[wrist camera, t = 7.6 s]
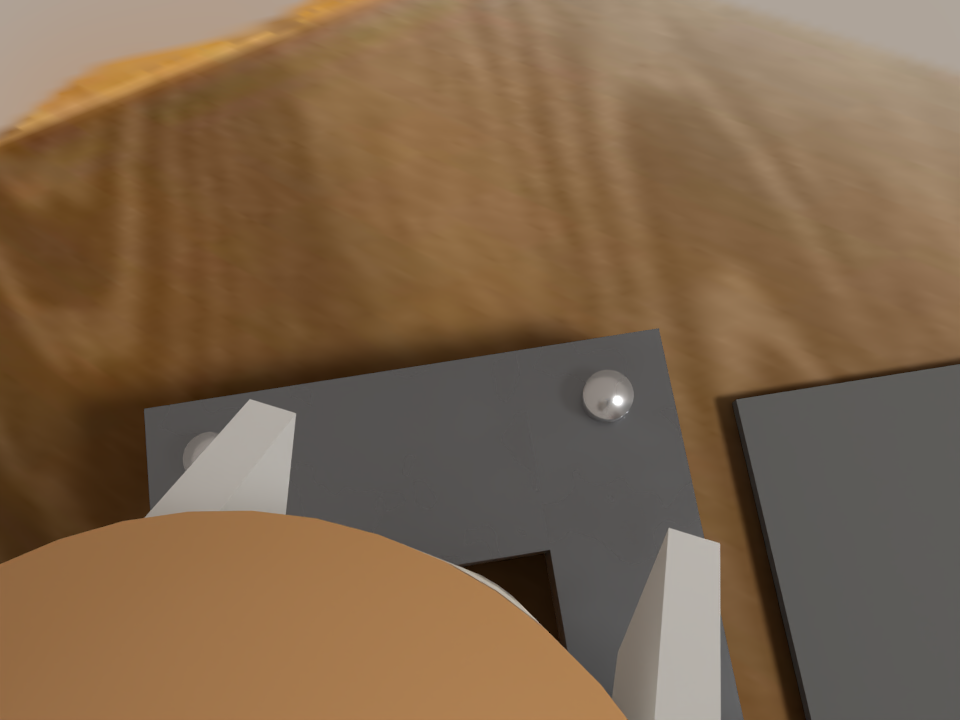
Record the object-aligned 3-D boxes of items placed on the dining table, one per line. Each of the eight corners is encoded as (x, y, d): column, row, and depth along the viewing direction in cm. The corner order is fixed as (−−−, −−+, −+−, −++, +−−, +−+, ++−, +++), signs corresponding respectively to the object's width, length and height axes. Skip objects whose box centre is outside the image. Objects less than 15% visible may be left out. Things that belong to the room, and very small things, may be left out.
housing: (642, 354, 28) (662, 322, 25) (774, 986, 24) (822, 1054, 20) (180, 427, 28) (135, 404, 25) (226, 1080, 24) (180, 1166, 20)
